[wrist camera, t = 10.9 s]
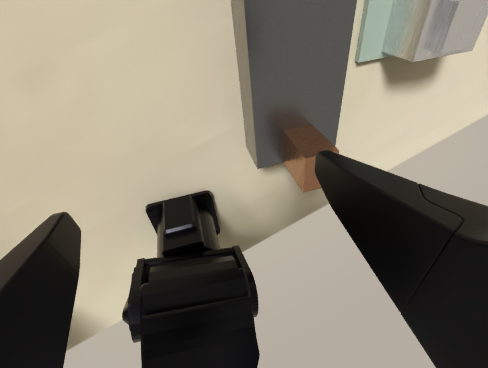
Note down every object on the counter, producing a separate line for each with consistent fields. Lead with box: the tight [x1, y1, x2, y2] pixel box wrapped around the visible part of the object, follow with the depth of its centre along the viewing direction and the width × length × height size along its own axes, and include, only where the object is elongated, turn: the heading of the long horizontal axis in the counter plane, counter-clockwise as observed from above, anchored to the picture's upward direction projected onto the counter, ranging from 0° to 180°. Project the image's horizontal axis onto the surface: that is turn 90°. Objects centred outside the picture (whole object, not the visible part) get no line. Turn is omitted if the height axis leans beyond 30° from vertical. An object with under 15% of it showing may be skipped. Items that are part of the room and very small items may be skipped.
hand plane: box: [231, 0, 357, 192], centre depth 15 cm, size 22×7×8 cm, turn 6°
